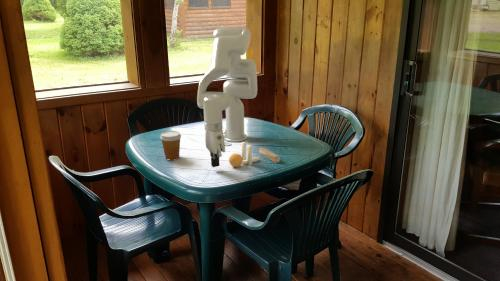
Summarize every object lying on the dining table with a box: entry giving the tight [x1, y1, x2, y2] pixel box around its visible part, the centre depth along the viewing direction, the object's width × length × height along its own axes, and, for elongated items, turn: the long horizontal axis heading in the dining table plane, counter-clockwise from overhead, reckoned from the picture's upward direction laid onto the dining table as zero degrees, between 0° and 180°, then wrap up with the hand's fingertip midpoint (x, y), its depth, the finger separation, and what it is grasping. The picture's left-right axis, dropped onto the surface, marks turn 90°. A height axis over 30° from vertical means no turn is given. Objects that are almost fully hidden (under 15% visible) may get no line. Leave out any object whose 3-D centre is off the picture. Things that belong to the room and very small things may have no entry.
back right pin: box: [247, 144, 253, 167], centre depth 180 cm, size 2×2×9 cm
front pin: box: [241, 156, 261, 166], centre depth 184 cm, size 2×2×9 cm
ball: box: [228, 152, 243, 168], centre depth 179 cm, size 6×6×6 cm
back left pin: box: [241, 141, 247, 160], centre depth 185 cm, size 2×2×9 cm
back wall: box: [258, 146, 280, 164], centre depth 189 cm, size 2×14×3 cm, turn 31°
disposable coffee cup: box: [159, 130, 182, 161], centre depth 189 cm, size 10×10×12 cm
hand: (215, 165), depth 176 cm, fingers closed
